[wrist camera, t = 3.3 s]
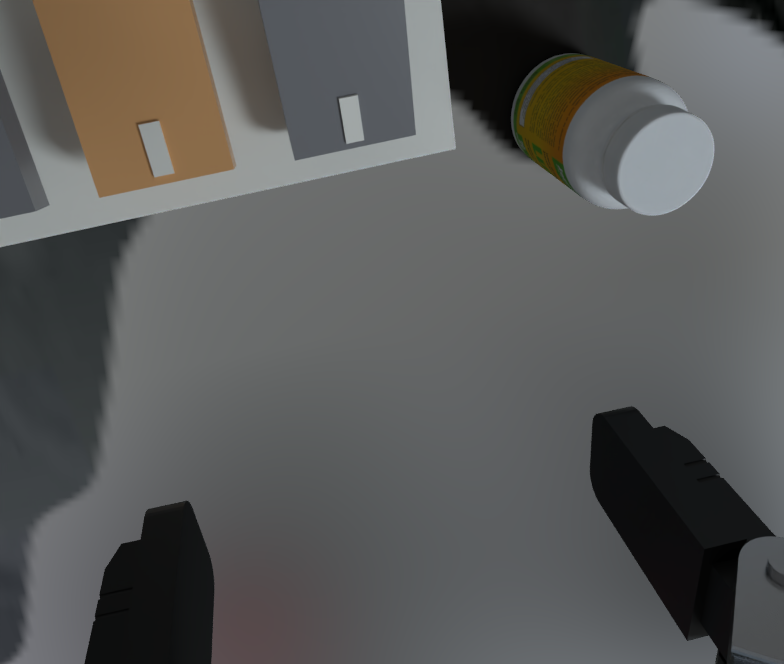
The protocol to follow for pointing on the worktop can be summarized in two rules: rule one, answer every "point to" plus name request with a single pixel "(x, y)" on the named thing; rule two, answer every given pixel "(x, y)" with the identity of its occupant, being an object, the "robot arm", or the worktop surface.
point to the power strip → (240, 111)
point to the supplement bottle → (612, 134)
